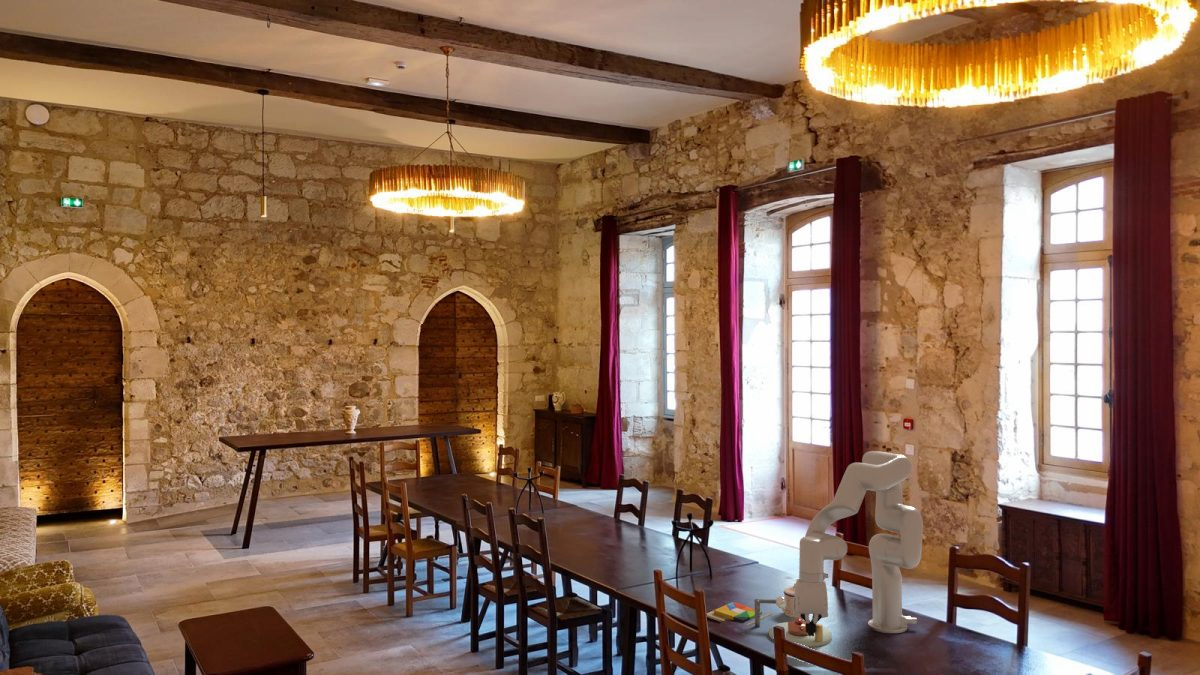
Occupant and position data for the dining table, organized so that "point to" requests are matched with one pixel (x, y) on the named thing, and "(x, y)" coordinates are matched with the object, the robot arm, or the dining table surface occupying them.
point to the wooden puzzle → (734, 613)
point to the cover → (797, 627)
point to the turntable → (818, 639)
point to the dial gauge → (779, 602)
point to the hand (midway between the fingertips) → (810, 634)
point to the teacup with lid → (790, 601)
